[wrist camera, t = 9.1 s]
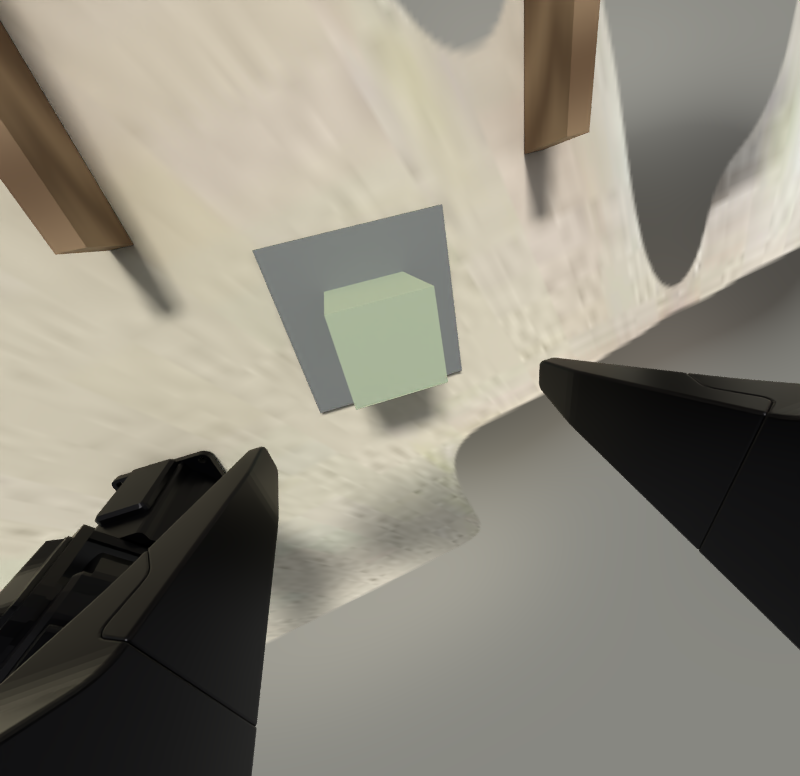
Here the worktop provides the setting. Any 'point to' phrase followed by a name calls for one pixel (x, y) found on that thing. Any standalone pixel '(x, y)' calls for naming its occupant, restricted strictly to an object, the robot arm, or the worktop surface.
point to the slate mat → (349, 264)
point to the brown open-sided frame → (99, 226)
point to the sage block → (386, 337)
